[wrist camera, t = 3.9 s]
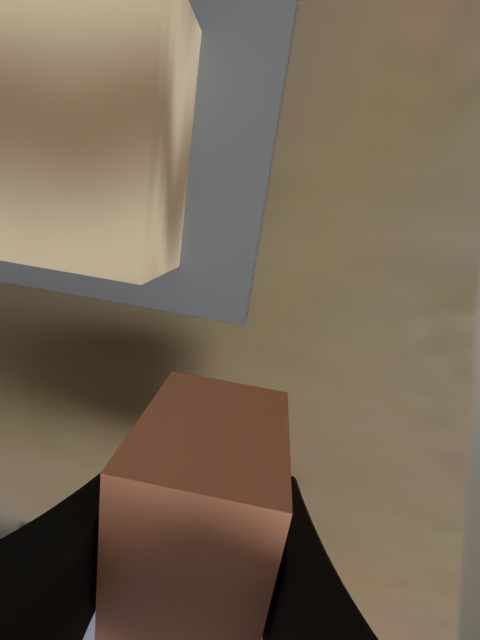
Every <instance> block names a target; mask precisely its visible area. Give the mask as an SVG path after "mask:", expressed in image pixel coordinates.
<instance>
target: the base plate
mask: <svg viewBox="0 0 480 640" xmlns="http://www.w3.org/2000/svg"><path fill="white" fill-rule="evenodd" d="M189 3H190V5H191V7H192V10H193V12H194V14H195V17H196V19H197V21H198V24H199V26H200V28H201V31H202V35H201V45H200V55H199V66H198V76H197V87H196V97H195V108H194V118H193V128H192V139H191V149H190V160H189V170H188V180H187V191H186V201H185V212H184V222H183V233H182V243H181V253H180V264H179V267H177V268H175V269H173V270H171V271H169V272H167V273H165V274H163V275H161V276H159V277H157V278H155V279H153V280H151V281H149V282H147V283H145V284H143V285H138V284H132V283H126V282H121V281H115V280H109V279H104V278H98V277H92V276H86V275H81V274H75V273H69V272H63V271H58V270H52V269H46V268H41V267H35V266H29V265H23V264H18V263H12V262H6V261H0V282H4V283H10V284H16V285H21V286H27V287H32V288H38V289H44V290H49V291H55V292H60V293H66V294H72V295H77V296H83V297H88V298H94V299H100V300H105V301H111V302H116V303H122V304H128V305H133V306H139V307H144V308H150V309H155V310H161V311H167V312H172V313H178V314H183V315H189V316H195V317H200V318H206V319H211V320H217V321H223V322H228V323H234V324H239V325H245V322H246V319H247V313H248V307H249V301H250V295H251V289H252V282H253V276H254V270H255V264H256V258H257V252H258V246H259V239H260V233H261V227H262V221H263V215H264V209H265V203H266V197H267V190H268V184H269V178H270V172H271V166H272V160H273V154H274V147H275V141H276V135H277V129H278V123H279V117H280V111H281V105H282V98H283V92H284V86H285V80H286V74H287V68H288V62H289V56H290V49H291V43H292V37H293V31H294V25H295V19H296V13H297V6H298V0H189Z"/></svg>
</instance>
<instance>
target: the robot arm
mask: <svg viewBox="0 0 480 640" xmlns="http://www.w3.org/2000/svg"><path fill="white" fill-rule="evenodd" d="M100 474H101V473H100ZM100 474H98V475H97V476H96V477H95V478H93V479H92V480H91V481H89V482H88V483H87V484H85V485H84V486H83V487H81V488H80V489H79V490H77V491H76V492H75V493H73V494H72V495H70V496H69V497H67V498H66V499H65V500H63V501H62V502H60V503H59V504H57V505H56V506H55V507H53V508H52V509H50V510H48V511H47V512H45V513H44V514H42V515H41V516H39V517H38V518H36V519H34V520H33V521H31V522H29V523H28V524H26V525H24V526H23V527H21V528H19V529H18V530H16V531H14V532H12V533H11V534H9V535H7V536H5V537H3V538H1V539H0V640H95V614H96V586H97V558H98V530H99V502H100ZM291 488H292V511H293V514H292V518H291V522H290V526H289V530H288V534H287V538H286V542H285V546H284V550H283V554H282V558H281V562H280V566H279V570H278V574H277V578H276V582H275V586H274V590H273V594H272V598H271V602H270V606H269V610H268V614H267V618H266V622H265V626H264V630H263V634H262V640H378V638H377V637H376V635H375V634H374V633H373V631H372V630H371V628H370V627H369V625H368V624H367V622H366V620H365V619H364V617H363V616H362V614H361V613H360V611H359V610H358V608H357V606H356V605H355V603H354V601H353V600H352V598H351V596H350V595H349V593H348V591H347V590H346V588H345V586H344V585H343V583H342V581H341V579H340V577H339V576H338V574H337V572H336V570H335V568H334V566H333V564H332V562H331V561H330V559H329V557H328V555H327V553H326V551H325V549H324V547H323V545H322V543H321V540H320V538H319V536H318V534H317V532H316V529H315V527H314V525H313V523H312V520H311V518H310V516H309V513H308V511H307V508H306V506H305V503H304V501H303V498H302V495H301V492H300V490H299V487H298V483H297V480H296V479H295V478H294V477H292V476H291Z"/></svg>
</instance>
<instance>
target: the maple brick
mask: <svg viewBox="0 0 480 640" xmlns="http://www.w3.org/2000/svg"><path fill="white" fill-rule="evenodd" d="M201 35H202V31H201V28H200V26H199V24H198V21H197V19H196V17H195V14H194V12H193V10H192V7H191V5H190V3H189V0H0V261H6V262H12V263H18V264H23V265H29V266H35V267H41V268H46V269H52V270H58V271H63V272H69V273H75V274H81V275H86V276H92V277H98V278H104V279H109V280H115V281H121V282H126V283H132V284H138V285H143V284H145V283H147V282H149V281H151V280H153V279H155V278H157V277H159V276H161V275H163V274H165V273H167V272H169V271H171V270H173V269H175V268H177V267H179V264H180V253H181V243H182V233H183V222H184V212H185V201H186V191H187V180H188V170H189V160H190V149H191V139H192V128H193V118H194V108H195V97H196V87H197V76H198V66H199V55H200V45H201Z"/></svg>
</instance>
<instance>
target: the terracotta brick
mask: <svg viewBox="0 0 480 640" xmlns="http://www.w3.org/2000/svg"><path fill="white" fill-rule="evenodd" d="M292 514H293V511H292V488H291V465H290V441H289V418H288V395H287V393H286V392H281V391H276V390H270V389H265V388H260V387H255V386H249V385H244V384H239V383H233V382H228V381H223V380H218V379H212V378H207V377H202V376H197V375H191V374H186V373H181V372H175V371H172V372H171V374H170V375H169V376H168V378H167V379H166V381H165V382H164V384H163V385H162V386H161V388H160V389H159V391H158V392H157V394H156V395H155V396H154V398H153V399H152V401H151V402H150V404H149V405H148V406H147V408H146V409H145V411H144V412H143V414H142V415H141V416H140V418H139V419H138V421H137V422H136V423H135V425H134V426H133V428H132V429H131V431H130V432H129V433H128V435H127V436H126V438H125V439H124V441H123V442H122V443H121V445H120V446H119V448H118V449H117V451H116V452H115V453H114V455H113V456H112V458H111V459H110V461H109V462H108V463H107V465H106V466H105V468H104V469H103V471H102V472H101V474H100V502H99V530H98V558H97V586H96V614H95V640H261V638H262V634H263V630H264V626H265V622H266V618H267V614H268V610H269V606H270V602H271V598H272V594H273V590H274V586H275V582H276V578H277V574H278V570H279V566H280V562H281V558H282V554H283V550H284V546H285V542H286V538H287V534H288V530H289V526H290V522H291V518H292Z"/></svg>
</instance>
